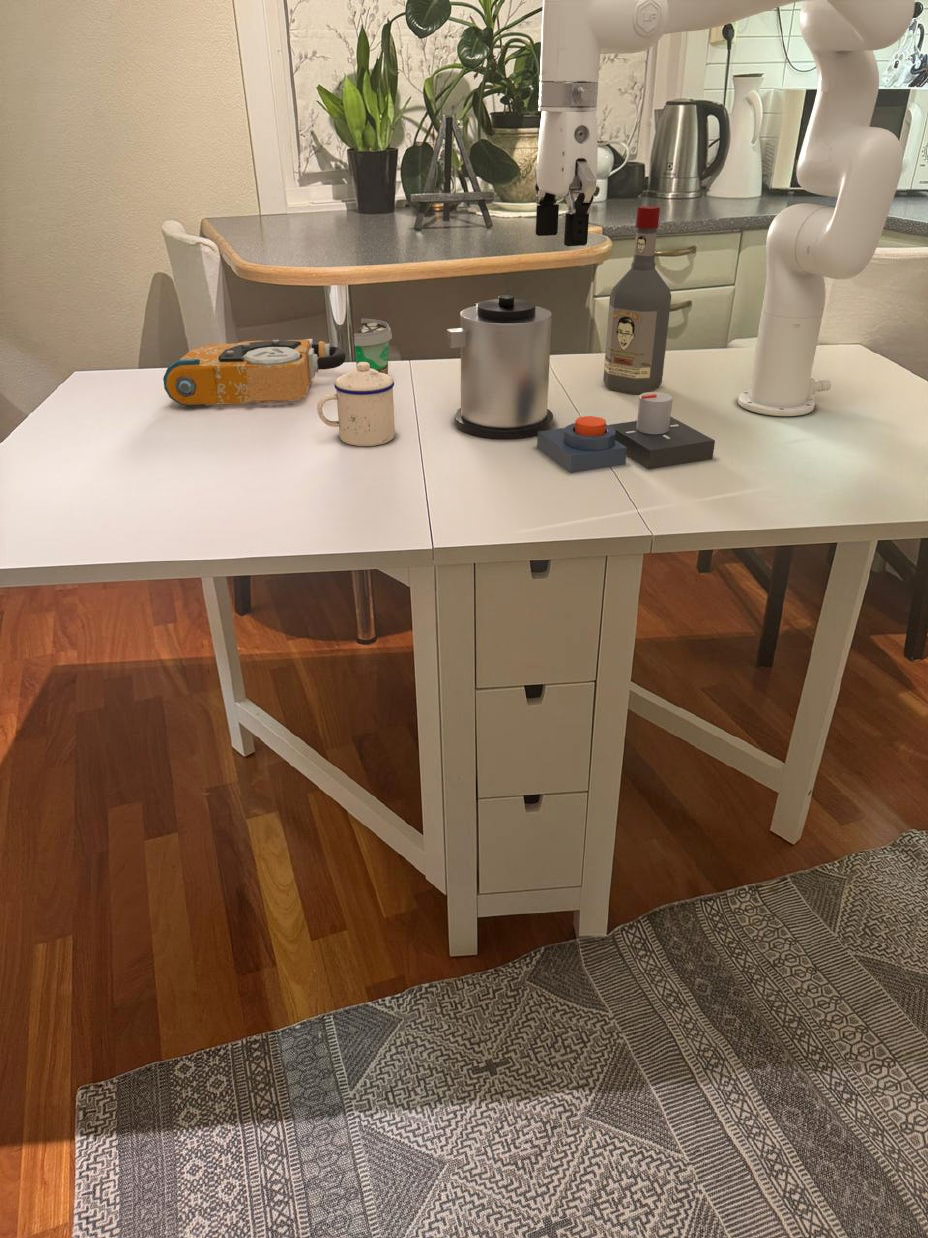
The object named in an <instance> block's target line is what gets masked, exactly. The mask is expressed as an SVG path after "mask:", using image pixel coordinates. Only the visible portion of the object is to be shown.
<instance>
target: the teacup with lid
mask: <svg viewBox="0 0 928 1238" xmlns="http://www.w3.org/2000/svg"><path fill="white" fill-rule="evenodd" d="M333 386H334V389H335V392H336V393H329V394H325V395H323V396H322V397H320V399H319V400H318V402H317V406H316V411H317V415H318V417H319V419H320V420H321V421H322V422H323V424H325V425H326V426H328V427H333V428H338V430H339V431H338V432H339V439H340V440H341V441H342V442H343V443H344V444H346V445H347V444H348V445H350V446H356V447H374V446H380V445H383V444H386V443H389V442H391V441H392V440H394V438H395V436H396V432H395V431H396V430H395V429H396V427H395V409H394V408H395V406H394V387H395V382H394V379H393V378H392V376H391V375H389V374H388V375H387V374H384V373H380V372H378V371H376V370H374V369H371V368H370V364H369V363H367V362H359V363H358V364H357V366H356V368H353V369H352V370H351V371H349V372H348V373H344V374H341V375H339V376H338V377H337V378H336V379H335V381H334V384H333ZM333 400H336V405H337V407H336V408H337V418H338V420H330V419H328V418H326V417H325V416H324V412H323V406H324V405H325V404H326V402H329V401H333Z"/></svg>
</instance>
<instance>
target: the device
mask: <svg viewBox="0 0 928 1238" xmlns="http://www.w3.org/2000/svg"><path fill="white" fill-rule="evenodd" d="M346 358H347V353H346V352H345V350H344V348H341V347H339V346H332V344H331V343H326V342H325V341H323V340H320V341H318V343H316V344H315V343H314V339H313V338H305V339H272V340H271V339H270V340H243V341H241V342H237V343H213V344H211V343H210V344H206V345H205V344H204V345H202V346H197V347H194V348H193V349H191V350H189V351H187V353H186V354H184V355H183V356H181V358H180V359H178V360H176V361H175V362H174V363H172V364H170V365H169V366H168V367H167V368H166V370H165V373H164V375H163V378H162V379H163V387H164V388H163V389H164V391H165V392H166V394H167V395H168V397H169V399H171V400H172V401H174V402H175V403H176V404H177V405H179V406H183V407H187V408H192V407H194V408H195V407H206V406H207V405H229V404H231V405H232V404H250V403H254V402H255V403H257V402H259V403H262V404H267V403H268V404H274V403H275V404H276V403H277V404H281V403H282V404H283V403H287V402H290V401H297V400H301V399H304V398H305V397H306V396H307V395H308V389H309V387H311V383H312V379H314V378H315V376H316V374H317V373H319V371H320V370H321V371H323V370H331V369H336V368H338V367H340V366H342V365H343V364H345V362H346Z"/></svg>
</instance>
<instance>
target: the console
mask: <svg viewBox="0 0 928 1238" xmlns="http://www.w3.org/2000/svg"><path fill="white" fill-rule="evenodd" d="M608 425H609V426H611V427H612V428H614V429H615V440H616V441H618V442H619V443H621V444H622V445H624V446H625V447H627V452H626V457H628V458H629V459H631V460H633V461H634V462H635V463H637V464H639V465H641V466H642V467H644V468H645V469H646V470H654V469H655V470H656V469H661V468H668V467H673V466H680V465H687V464H692V463H697V462H704V461H705V462H706V461H709V460H714V459H713V458H714V451H715V444H716V440H715V439H713V438H712V437H709V436H708V435H705V434H704V433H702V432H700V431H698V430H697V429H695V428H693V427H691V426H690V425H687V424H685V423H684V422H682V421H680V420H679V419H676V418H674V416H673V417H672V416H670V424H669V431H668V432H667V433H664V434H656V435H655V434H646V433H642V432H640V431H638V430H637V428H636V427H637V419H635V420H633V421H626V422H619V423H611V424H608Z"/></svg>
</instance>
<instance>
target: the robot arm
mask: <svg viewBox="0 0 928 1238" xmlns="http://www.w3.org/2000/svg"><path fill="white" fill-rule="evenodd" d="M542 1H543V2H542V17H541V19H542V20H541V42H540V44H541V45H540V65H539V66H540V69H539V71H540V72H539V92H538V96H539V97H538V112H541V118H540V126H539V133H538V143H537V157H536V158H537V159H536V167H535V169H534V176H535V183H536V184H535V187H534V189H535V192H536V197H535V204H536V214H535V215H536V216H535V235H536V236H538V237H545V236H549V237H551V236H557V235H558V231H559V213H560V211H559V210H560V204H557V202H558V199H559V197H564V198H565V202H566V206H567V210H568V213H565V216H564V217H565V218H564V233H563V234H564V235H563V236H564V237H563V244H564V246H566V247H582V246H583V247H584V246H586V245H588V239H589V237H588V235H589V225H590V223H589V222H590V215H591V212H592V203H593V201H594V198H595V196H594V194H595V193H596V191H597V180H598V154H599V153H598V151H599V150H598V149H599V148H598V145H599V144H598V143H599V141H598V135H599V134H598V119H597V109H598V94H599V79H600V78H599V77H600V65H601V55H610V54H611V55H612V54H618V55H619V54H620V55H623V54H637V53H641V52H644V51H647V50H649V49H651V48H652V47H654V46H655V45H656V44H657V43H659V41H661V38H662V37H663V36H664V35H667V34H672V33H673V34H674V33H682V32H695V31H705V30H709V29H713V28H719V27H723V26H726V25H729V24H733V23H735V22H737V21H738V22H739V21H741V20H744V19H748V18H750V17H752V16H755V15H758V14H761V13H764V12H768V11H772V10H775V9H777V8H780V7H783V6H787V5H791V4H795V3H798V2H799V3H800V2H802V4H801V7H800V11H799V12H800V13H799V28H800V29H799V30H800V32H801V36H802V38H803V41H804V42H805V44H806V47H808V49H809V51H810V53H811V55H812V58H813V61H814V64H815V67H816V73H817V89H816V95H815V99H814V103H813V107H812V111H811V113H810V118H809V120H808V124H807V128H806V131H805V135H804V138H803V142H802V145H801V149H800V152H799V156H798V160H797V164H796V175H795V176H796V181H797V184H798V185H799V186H800V187H801V188H802V189H803V190H804V191H805V192H808V193H812V194H814V195H818V196H825V197H830V198H837V200H836V203H835V207H833V206H828V205H824V204H823V205H822V204H816V203H803V202H802V203H796V204H792V205H789V206H787V207H786V208H784V209H783V210H781V211H779V213H778V214H777V215H776V216H775V217H774V218H773V219H772V222H771V223H770V225H769V227H768V230H767V234H766V241H765V242H766V243H765V261H766V262H765V263H766V271H765V272H766V273H765V274H766V276H765V287H764V294H763V301H762V307H761V313H760V319H759V325H758V331H757V337H756V344H755V350H754V356H753V363H752V368H751V376H750V380H749V386H748V389H746V390H744V391H742V392H740V394H738V396H737V403H738V405H739V406H740V407H741V408H743V409H744V410H747V411H750V412H753V413H757V414H761V415H766V416H772V417H773V416H775V417H797V416H803V415H807V414H810V413H811V412H813V411H814V410H815V407H816V401H815V400H814V398H813V397H812V396H813V395H815V394H816V393H817V392H819V393H820V392H828V391H830V389H831V388H832V383H831V380H830V379H828V378H827V379H826V378H825V379H820V380H816V379H814V378H813V377H811V376H812V372H813V368H814V367H813V365H814V361H815V356H816V351H817V345H818V340H819V336H820V330H821V325H822V321H823V315H824V311H825V305H826V283H825V278H828V279H834V280H850V279H852V278H854V277H856V276H858V275H859V274H861V273H862V272H863V271H864V270H865V269H866V267H867V266H868V265H869V264H870V262H871V261H872V259H873V257H874V255H875V253H876V250H877V248H878V245H879V242H880V240H881V237H882V235H883V230H884V228H885V225H886V222H887V219H888V217H889V213H890V210H891V207H892V204H893V201H894V198H895V195H896V192H897V189H898V186H899V183H900V179H901V175H902V171H903V161H904V160H903V158H904V157H903V156H904V155H903V148H902V144H901V143H900V140H899V138H898V137H897V136H896V135H895V134H894V133H893V132H892V131H890V130H889V129H885V128H882V127H876V126H871V123H872V117H873V115H874V110H875V106H876V103H877V99H878V94H879V89H880V71H879V67H878V62H877V59H876V56H875V53H874V51H879V50H883V49H886V48H889V47H891V46H892V45H894V44H896V43H897V42H899V41H900V40H901V39H902V37H903V36H904V35H905V33H906V32H907V31H908V29H909V28H910V26H911V23H912V21H913V18H914V13H915V6H916V3H915V1H916V0H542Z"/></svg>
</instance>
